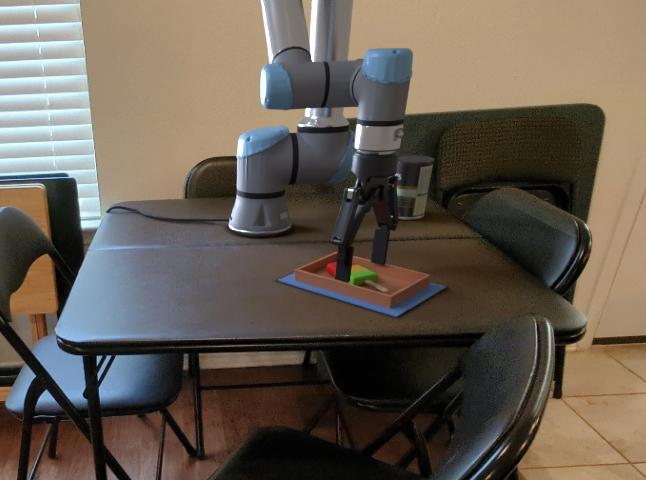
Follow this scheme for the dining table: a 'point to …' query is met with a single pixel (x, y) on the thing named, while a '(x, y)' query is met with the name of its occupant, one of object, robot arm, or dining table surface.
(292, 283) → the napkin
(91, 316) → the dining table surface
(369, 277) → the popsicle
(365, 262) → the tray
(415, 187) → the coffee can
